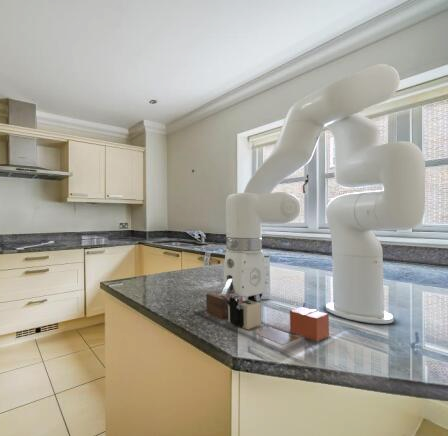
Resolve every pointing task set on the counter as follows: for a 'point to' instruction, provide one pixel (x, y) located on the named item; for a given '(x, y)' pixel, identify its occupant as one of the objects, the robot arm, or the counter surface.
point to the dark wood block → (217, 304)
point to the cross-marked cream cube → (250, 313)
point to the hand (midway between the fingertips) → (244, 321)
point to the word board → (269, 333)
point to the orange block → (309, 323)
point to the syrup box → (267, 276)
